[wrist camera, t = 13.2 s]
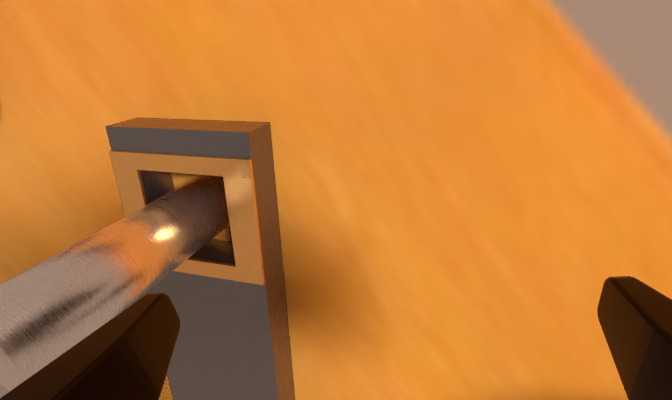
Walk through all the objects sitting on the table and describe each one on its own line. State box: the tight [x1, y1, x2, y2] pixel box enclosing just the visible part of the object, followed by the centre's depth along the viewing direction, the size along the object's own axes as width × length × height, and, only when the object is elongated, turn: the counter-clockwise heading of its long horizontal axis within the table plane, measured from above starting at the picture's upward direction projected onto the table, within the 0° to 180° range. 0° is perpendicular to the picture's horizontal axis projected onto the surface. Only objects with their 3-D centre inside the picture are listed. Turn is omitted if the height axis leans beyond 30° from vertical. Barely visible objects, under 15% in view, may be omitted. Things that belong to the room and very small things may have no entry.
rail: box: [106, 118, 295, 400], centre depth 29 cm, size 33×9×3 cm, turn 3°
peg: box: [0, 175, 230, 398], centre depth 20 cm, size 4×4×14 cm
